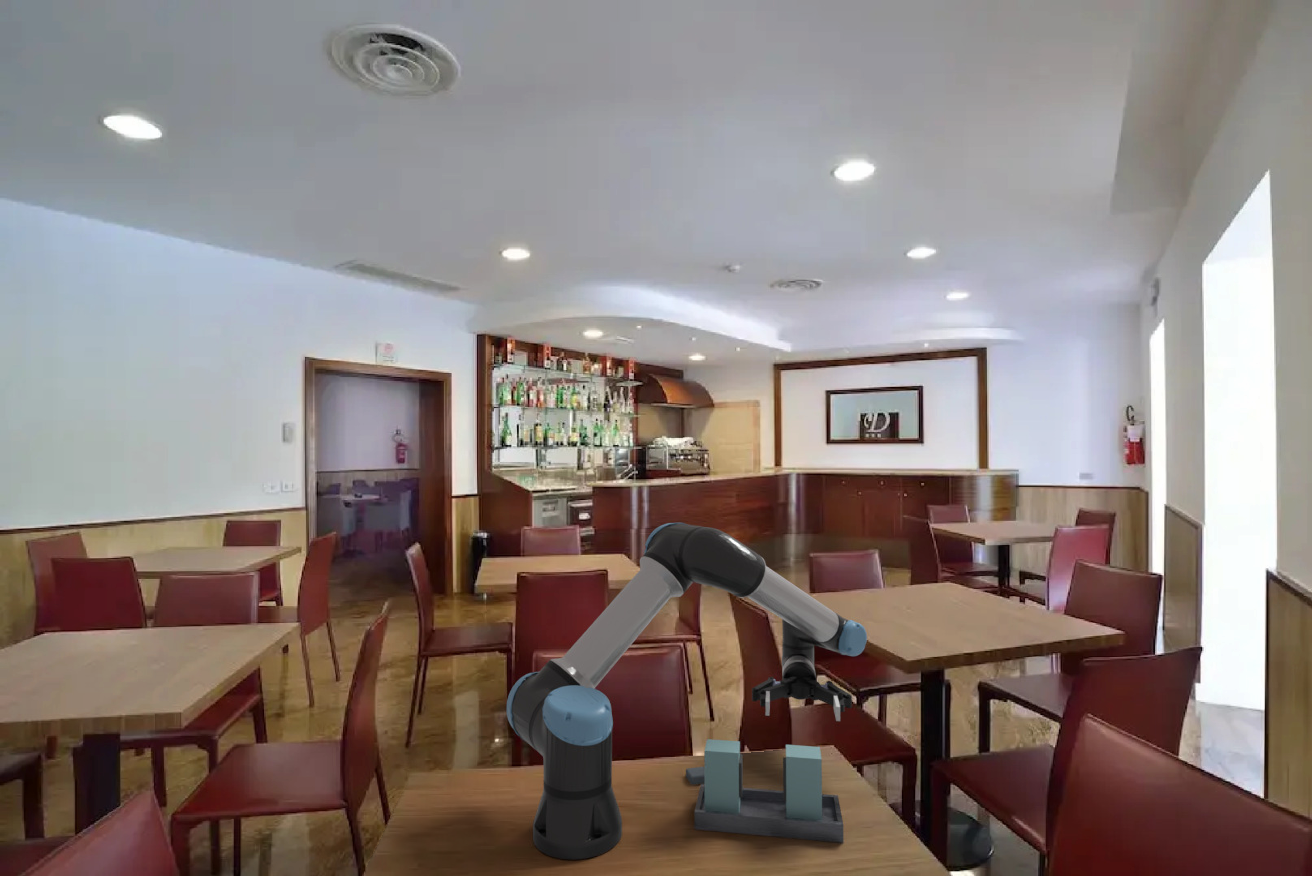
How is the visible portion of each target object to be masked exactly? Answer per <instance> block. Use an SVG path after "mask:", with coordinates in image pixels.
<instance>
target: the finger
mask: <svg viewBox="0 0 1312 876" xmlns="http://www.w3.org/2000/svg"><path fill="white" fill-rule="evenodd" d="M821 753H822V752H821V747H820V746H810V745H798V744H797V745H796V744H785V756H783V757H782V775H783V776H782V779H783V780H782V788H783V789H782V791H783V801H786V817H789V818H801V819H812V820H822V794H823V784H822V783H823V775H822V773H823V772H822V771H823V769H822V768H823V767H822V766H823V765H822V764H823V762H822V754H821Z"/></svg>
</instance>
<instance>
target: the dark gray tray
mask: <svg viewBox="0 0 1312 876" xmlns="http://www.w3.org/2000/svg"><path fill="white" fill-rule="evenodd" d="M839 799H840V798H839V795H838V794H825V793H822V820H812V819H801V818H789V817H786V801H783V790H777V789H775V790H774V789H765V788H764V789H763V788H753V787H752V788H751V787H743V791H742V798H740V810H739V813H732V812H720V811H709V810H705V784H704V783H703V784H700V787H699V790H698V795H697V800H696V803H695V804H696V805H695V807H694V830H700V831H710V832H721V833H732V834H741V835H743V834H744V835H751V836H754V835H755V836H764V837H765V836H766V837H773V838H787V839H797V840H798V839H799V840H809V841H819V842H829V843H830V842H832V843H841V844H843V843H844V821H843V820H844V819H843V815H842V810H841V805H840V800H839Z"/></svg>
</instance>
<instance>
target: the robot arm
mask: <svg viewBox="0 0 1312 876" xmlns="http://www.w3.org/2000/svg"><path fill="white" fill-rule="evenodd" d="M644 546H645V549H644V551H643V555H642V556H641V557H640V559H639V567H640V568H639V571H638V572H637V573H636V574H635V575H634V576H633V578H632V579H631V580H630V581H628V583H627V584H626V586H624V587H623V588H622V590H621V591H620V592H619V593H618V594H617V595H616V596H615V597H614V599H613V600H612V601H611V602H610V603H609V605H608V606H607V607H606V608H605V609H604V610H603V611H602V612H601V614H600V615H599V616H598V617H597V618H596V619H595V620H594V621H593V623H592V624H590V626H589V627H587V630H586V631H584V633H583V634H582V635H581V636H580V637H579V638H578V639H577V640H576V642H575V643H574V644H573V645H572V646H571V648H569V650H567V652H566V653H565V654H564V655H563V656H562V657H560V658H551V659H549V660H548V661H547V663H545V664H544V665H543V667H542V668H541V669H540V670H539V671H533V672H529V673H526V674H525V675H523V676H521V677H520V678H519V679H518V680H517V681H515V684H514V685H513V686H512V688H511V690H510V691H509V694H508V697H507V701H506V716H507V720H508V722H509V725H510V727H511V728H512V729H513V731H514V732H515V734H516V735H517V736H518V737H519V738H520V740H523V741H524V742H526V743H527V744H529V746H530V747H532V749H534V750H535V751H537V753H539V754H540V755H541V756H542V757H543V789H542V791H543V792H542V794H541V797H540V801H539V804H538V806H537V809H536V813H535V816H534V820H533V823H532V824H533V825H532V841H533V844H534V846H535V847H536V848H537V850H538V851H540V852H541V853H543V854H545V855H546V856H548V857H552V858H556V859H562V860H585V859H588V858H589V859H590V858H593V857H597V856H600V855H603V854H604V853H606V852H607V853H608V852H609V851H610V850H611V849H613V848H614V847H616V845H618V843H619V842H620V840H621V838H622V835H623V820H622V814H621V810H620V808H619V804H618V803H617V802H618V801H617V799H616V795H615V792H614V789H613V785H612V784H613V780H612V779H613V778H612V776H613V774H612V773H613V772H612V771H613V770H612V769H613V768H612V767H613V728H614V726H613V725H614V721H613V715H612V705H611V703H610V702H611V701H610V700H609V698H608V697H607V696H606V695H605V694H604V693H603V692H601V691H600V690H598V689H597V688H596V687H597V686H598V685H599V684H600V682H601V681H602V680H603V679H604V677H605V676H606V675H607V674H608V673H609V672H610V670H611V669H612V668H614V666H615V665H616V664H617V662H618V661H619V660H620V659H621V657H622V656H623V655H624V654H625V653H626V651H627V650H628V649H629V648H630V647H631V645H632V644H633V643H634V642H635V641H636V640H637V639H638V637H639V636H640V635H641V634H642V632H643V631H644V630H645V629H646V628H647V626H648V625H649V624H650V623H651V621H652V620H653V619H654V618H655V617H656V615H657V614H658V613H659V612H660V611H661V610H662V608H664V606H665V605H666V604H667V602H669V600H670V599H671V598H679V597H680V598H681V597H682V596H683V595H684V594H685V592H686V591H687V590H688V589H689V588H690V586H692V584H693V583H694V584H699V585H704V586H709V587H712V588H716V589H720V590H723V591H725V592H728V593H729V594H732V595H733V596H735V597H737V598H739V599H740V598H741V599H744V598H748V599H750V600H751V601H752V602H754V603H756V604H757V605H759V606H761V607H762V608H764V609H766V610H767V611H768V612H770V613H772V614H774V615H775V616H777V617H778V618H780V619H781V621H782V626H781V627H782V630H781V631H782V644H781V647H782V649H781V667H782V675H781V676H782V677H781V678H782V679H781V680H779V681H776V679H775V677H773V676H769V677H768V678H767V680H765V681H763V682H761V683H759V684H758V685H756V686H754V687H752V688H751V701H752V702H758V701H759V704H760V707H763V708H765V716H769V717H770V711H771V710H770V709H771V708H770V707H771V706H770V705H771V702H773V701H776V700H779V699H782V698H784V699H788V698H793V699H795V700H807V699H811V700H813V701H820V702H823V703H825V704H827V705H830V706H831V707H833V713H834V716H835V717H834V718H835V721H836V722H841V713H844V712H845V708H847V709H852V707H853V706H852V705H853V703H852V701H853V700H852V699H853V698H852V697H853V696H852V694H850V693H848V692H847V691H845V690H843V689H842V688H840V687H838V686H837V685H835V684H834V683H833V681H831V680H827V681H826V682H825V683H824V684H821V683H820V682H819V681H818V680H817V674H816V669H815V646H816V647H819V648H823V649H825V650H830V651H832V652H835V653H838V654H840V655H842V656H849V657H857V656H859V655H861V654H862V653H863V652H864V650H865V648H866V644H867V640H868V635H867V631H866V628H865V626H864V625H862V624H861V623H859V622H856V621H855V620H853V619H846V618H844V617H842V616H841V615H839V614H838V613H836V612H835V611H833V610H832V609H831V608H829V607H827V606H826V605H825V604H824V603H822V602H820V601H818V600H817V599H815V598H814V597H812V595H810V594H808V593H807V592H805V591H804V590H802V589H801V588H799V587H798V586H796V585H795V584H793V583H792V582H791V581H789V580H787V579H786V578H785V577H784V576H782V575H780V574H779V573H778V572H776V571H774V570H773V569H771V568H770V567H768V566H767V564H766V560H765V559H764V558H763V557H762V556H761V555H760V554H758V553H757V552H756V551H754V550H752V548H749V547H748V545H745V544H744V543H742V542H740V540H738V539H736V538H734V537H733V536H731V535H730V534H728V533H726V532H725V531H722V530H720V529H717V528H715V527H705V526H702V525H701V526H700V525H694V524H693V525H692V524H687V523H685V522H668V523H664V524H662V525H659V526H658V527H656V528H655V529H654V530H653V531H652V532H651V533H650V534H649V535H648V536H647V540H646V541H645V545H644Z"/></svg>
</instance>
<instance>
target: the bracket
mask: <svg viewBox="0 0 1312 876" xmlns="http://www.w3.org/2000/svg"><path fill="white" fill-rule="evenodd" d="M685 777H686V779H687V781H688V782H689V783H690V785H692V786H694V785H699V784H700V785H701V784H703V785H704V784H705V765H704V766H698V767H697V766H695V767H691V768H685Z"/></svg>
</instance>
